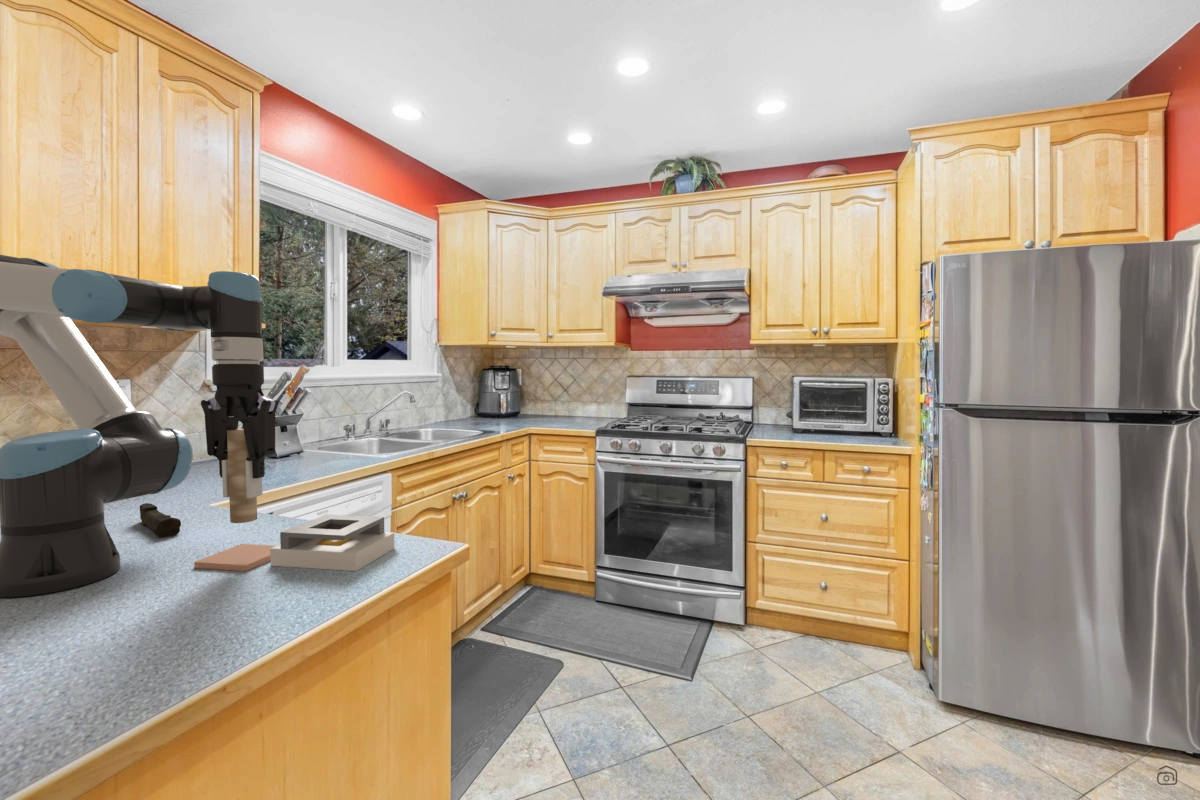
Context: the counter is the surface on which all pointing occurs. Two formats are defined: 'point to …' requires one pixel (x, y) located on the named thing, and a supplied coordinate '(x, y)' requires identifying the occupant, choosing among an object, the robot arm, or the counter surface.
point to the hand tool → (159, 521)
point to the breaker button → (333, 542)
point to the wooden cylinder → (239, 479)
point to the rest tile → (237, 558)
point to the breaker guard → (307, 552)
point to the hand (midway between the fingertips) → (242, 495)
